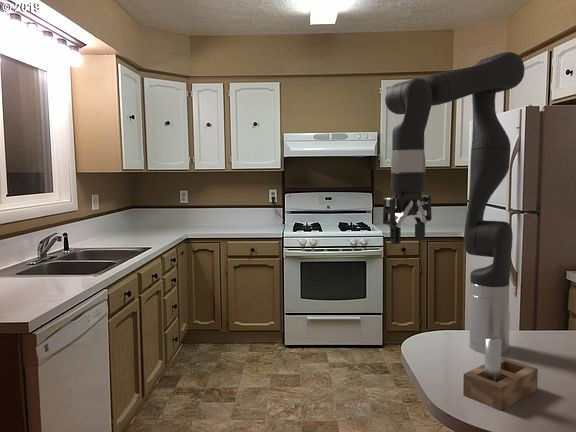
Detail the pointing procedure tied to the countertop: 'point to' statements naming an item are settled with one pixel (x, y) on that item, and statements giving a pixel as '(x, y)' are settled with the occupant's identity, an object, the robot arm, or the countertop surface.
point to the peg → (493, 358)
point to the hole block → (501, 384)
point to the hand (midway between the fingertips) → (407, 241)
